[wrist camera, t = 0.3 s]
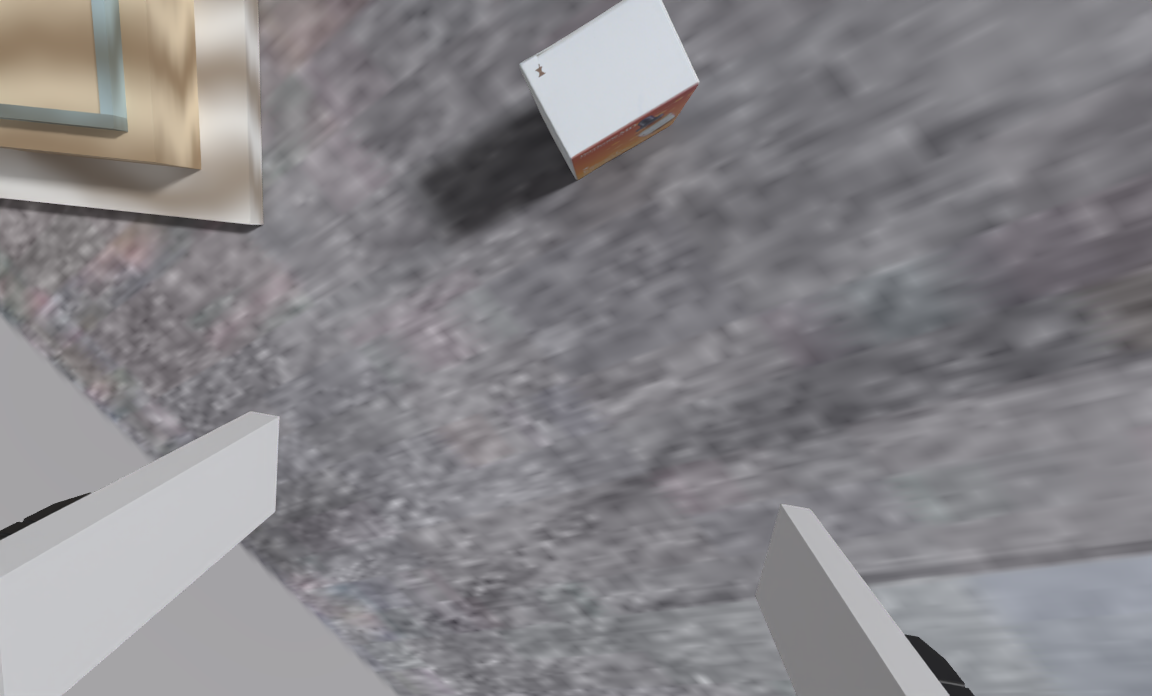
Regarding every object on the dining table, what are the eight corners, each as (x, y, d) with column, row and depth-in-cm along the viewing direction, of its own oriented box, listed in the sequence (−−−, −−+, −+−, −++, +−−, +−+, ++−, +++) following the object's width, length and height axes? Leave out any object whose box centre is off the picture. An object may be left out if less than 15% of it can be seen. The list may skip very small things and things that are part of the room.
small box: (576, 182, 39) (567, 163, 28) (538, 110, 38) (514, 63, 28) (675, 124, 38) (703, 83, 27) (638, 49, 37) (653, -24, 26)
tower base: (-29, -103, 37) (-162, -174, 30) (256, -77, 36) (182, -143, 30) (7, 197, 41) (-102, 190, 34) (263, 224, 40) (200, 223, 34)
